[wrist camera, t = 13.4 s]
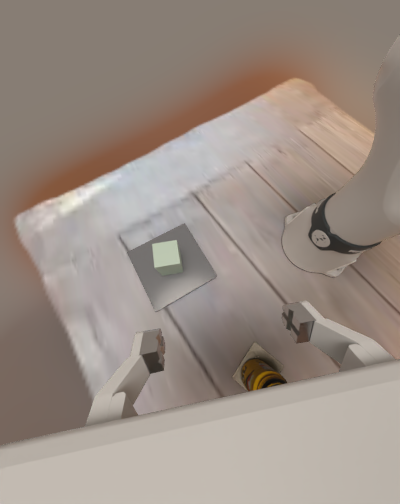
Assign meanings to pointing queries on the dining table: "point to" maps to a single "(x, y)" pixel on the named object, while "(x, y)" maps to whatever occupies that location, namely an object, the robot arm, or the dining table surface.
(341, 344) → the robot arm
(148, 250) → the board
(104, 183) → the dining table surface
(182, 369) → the dining table surface
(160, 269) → the block
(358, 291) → the dining table surface
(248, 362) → the condiment
